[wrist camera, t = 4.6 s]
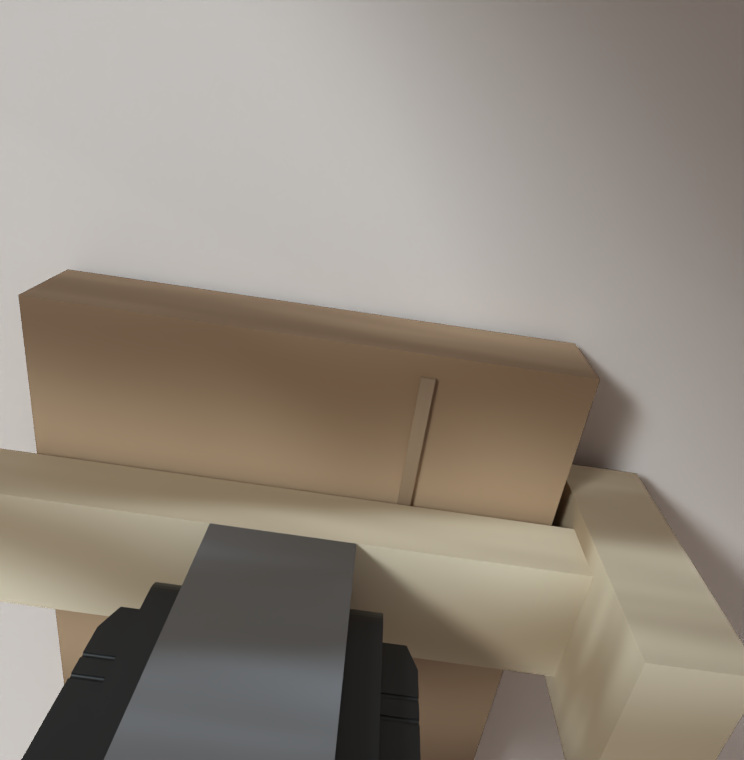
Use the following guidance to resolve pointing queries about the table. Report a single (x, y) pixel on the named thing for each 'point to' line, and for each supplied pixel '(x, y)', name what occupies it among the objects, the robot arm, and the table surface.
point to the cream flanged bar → (374, 605)
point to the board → (308, 419)
